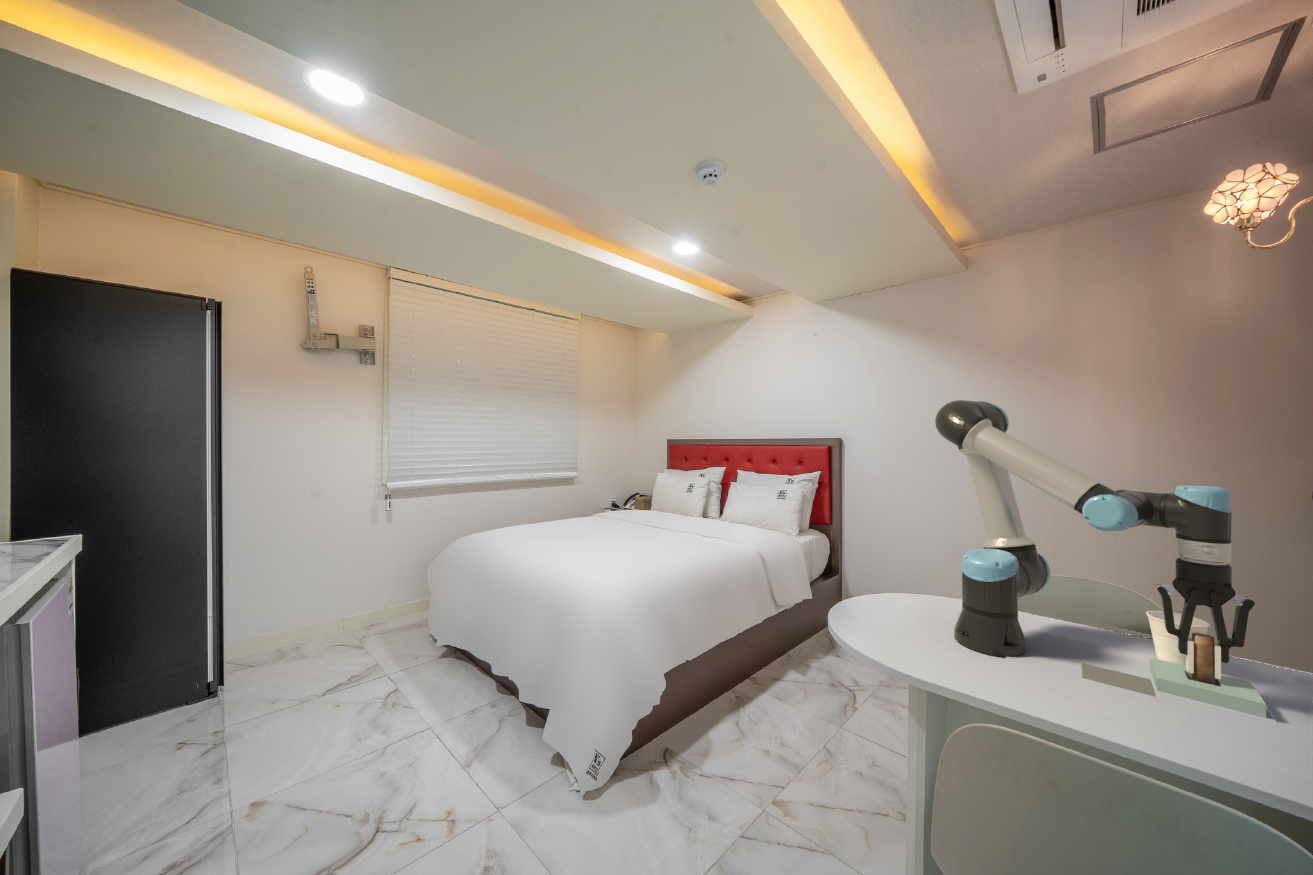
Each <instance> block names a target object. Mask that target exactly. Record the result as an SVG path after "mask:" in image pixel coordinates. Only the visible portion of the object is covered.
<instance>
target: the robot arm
mask: <svg viewBox="0 0 1313 875" xmlns="http://www.w3.org/2000/svg"><path fill="white" fill-rule="evenodd" d="M934 422H935V428H936V430H937V432H938V433H939V435H941V437H943V439H944V440H945V439H946V440H947V441H949V443H951V444H954V445H955V446H957V448H958V451H959V453H961V454H963V455H965V456H966V459H967V463H968V467H969V470H970V475H971V478H972V482H973V486H974V490H975V493H976V498H977V499H976V500H977V502H978V506H979V509H980V514H981V518H982V521H983V525H984V526H983V527H984V530H985V534H986V537H987V539H986V541H985V542H984V543H983V545H982V548H974V549H970V550H967V551H966V552H965V553H964V554H963V556H962V563H961V579H962V580H961V584H962V586H961V591H962V592H961V595H962V596H961V597H962V598H961V599H962V600H961V602H962V603H961V604H962V605H961V606H962V607H961V610H960V614H959V616H958V619H957V621H956V623H955V626H954V631H953V632H954V633H953V635H954V639H955V641H956V640H957V641H956V642H958V643H959V644H960V645H962V646H963V647H966V648H968V649H970V650H972V651H975V652H978V653H981V654H986V655H989V656H996V657H1002V658H1007V657H1009V658H1012V657H1013V658H1015V657H1022V656H1024V655H1026V654H1027V652H1028V643H1027V640H1026V637H1025V635H1024V632H1023V628H1022V627H1021V624H1020V622H1019V598H1022V597H1025V596H1028V595H1029V596H1030V595H1033V594H1036V593H1038V592H1039V591H1040V590H1042V589H1043V588H1044V587H1046V585H1047V584H1048V583H1049V581H1050V577H1051V568H1050V565H1049V563H1048V562H1047V560H1046V559H1045V557H1044V556H1042V555H1041V554H1040V553H1039V552H1038V549H1037V546H1036V543H1035V541H1034V540H1032V539H1030V538H1029V537H1028V536H1026V532H1025V529H1024V525H1023V522H1022V518H1021V513H1020V509H1019V506H1018V502H1017V499H1016V496H1015V492H1014V488H1013V484H1012V480H1011V477H1010V474H1009V472H1010V473H1011V474H1013V475H1015V476H1016V477H1018V478H1019V479H1020V480H1023V481H1025V482H1026V483H1028V484H1030V485H1032V486H1033V487H1034V488H1037V490H1040V491H1042V492H1043V493H1045V494H1047V495H1048V496H1050V497H1052V498H1054V499H1055V500H1057V501H1059V502H1060V503H1062V504H1063V505H1066V506H1067V507H1069V508H1071V509H1073V510H1074V511H1076V512H1077V513H1079V514H1081V515H1082V517H1083V518H1084V519H1085V521H1086V522H1087V523H1088V525H1090V526H1091V527H1093V528H1094V529H1097V530H1099V531H1103V532H1121V531H1126V530H1128V529H1130V528H1134V527H1138V526H1148V527H1157V528H1163V529H1164V528H1166V529H1175V555H1176V556H1177V558H1175V578H1174V580H1172V581H1171V583H1169V584H1157V585H1155V588H1156V589H1157V591H1158V593H1159V595H1160V596H1161V605H1162V611H1163V612H1164V620H1165V627H1166V630H1167V632H1168V633H1169V634H1173V635H1175V636H1177V637H1178V649H1179V651H1180V653H1181V654H1185V655H1186V669H1187V671H1188V672H1189V673H1194V642H1193V641H1192V639H1191V638H1188V637H1189V633H1190V629H1191V625H1192V620H1193V617H1195V616H1194V615H1195V611H1196V609H1197V606H1205V607H1207V608H1209V609H1210V612H1211V618H1212V622H1213V625H1214V630H1215V635H1216V640H1217V642H1214V677H1215V678H1216V679H1220V680H1221V673H1222V663H1225V664H1228V663H1229V662H1230V649H1231V648H1235V647H1237V648H1244V646H1245V640H1246V633H1247V626H1248V619H1249V613H1250V611H1251V610H1252V609H1253V607H1254V606H1255V605H1256V602H1255V601H1254V600H1253V599H1252V598H1250V597H1249V596H1244V595H1241V594H1240V593H1237V592H1236V590H1235V589H1234V588H1233V585H1232V582H1233V580H1232V578H1233V577H1232V574H1233V573H1232V572H1233V570H1232V567H1233V566H1231V564H1229V563H1231V562H1232V520H1233V519H1232V518H1233V517H1232V515H1233V509H1232V502H1231V493H1230V491H1229V490H1227V489H1226V488H1224V487H1219V486H1208V485H1191V484H1190V485H1189V484H1187V485H1185V484H1184V485H1177V486H1176V487H1175V491H1174V492H1173V493H1167V492H1166V493H1162V492H1152V491H1151V492H1150V491H1139V490H1129V489H1112V488H1110V487H1107V486H1105V485H1104V484H1102V483H1100V482H1099V481H1097V480H1094V479H1093V478H1091V477H1090V476H1087V475H1085V474H1083V473H1081V472H1079V471H1077V470H1076V469H1074V468H1072V467H1070V466H1068V465H1066V464H1064V463H1063V462H1061V461H1059V460H1057V459H1055V458H1053V457H1051V456H1049V455H1047V454H1046V453H1044V452H1043V451H1042V452H1041V451H1040V450H1038V449H1037V448H1034V447H1032V446H1030V445H1029V444H1027V443H1025V442H1023V441H1021V440H1019V439H1017V438H1016V437H1013V436H1012V435H1010V434H1008V433H1007V431H1008V429H1009V425H1010V424H1009V423H1010V422H1009V417H1008V415H1007V413H1006V412H1005V410H1003V409H1002V408H1001V406H998V405H996V404H994V403H991V402H987V401H983V400H977V401H976V400H975V401H974V400H960V399H959V400H952V401H950V402H948V403H946V404H944V405H943V406H942V407H941V408H940V409H939V410H938V411H937V413H936V415H935V421H934ZM1175 590H1176V591H1177V592H1178V593H1179V595H1180V596H1181V597H1182V598H1183V599H1184V601H1183V608H1182V613H1181V614H1182V617H1181V621H1180V625H1179V629H1176V628H1175V624H1174V617H1173V612H1174V610H1173V609H1174V608H1173V604H1172V599H1171V597H1172V596H1173V595H1174V591H1175ZM1232 599H1234V600H1233V602H1234V604H1235V612H1234V618H1233V624H1232V632H1231V637H1229V638H1228V632H1227V626H1226V623H1225V619H1224V614H1223V608H1222V606H1224V604H1226V603H1227V602H1229V601H1230V600H1232Z"/></svg>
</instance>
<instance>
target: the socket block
mask: <svg viewBox="0 0 1313 875" xmlns="http://www.w3.org/2000/svg"><path fill="white" fill-rule="evenodd" d="M1149 671H1150V673H1151V677H1152V680H1153V682H1154V686H1155V690H1156V691H1158V692H1161V693H1163V694H1169V695H1172V696H1177V697H1181V698H1185V699H1188V700H1193V701H1196V702H1200V703H1205V704H1209V705H1212V706H1215V707H1220V708H1224V709H1229V710H1232V711H1236V712H1240V713H1244V714H1249V715H1253V716H1257V717H1260V718H1264V719H1267V703H1266V702H1265V701H1264V699H1263V698H1262V696H1261V695H1260V694H1259V692H1258V691H1257V689H1256V688H1255V687H1254V685H1253V684H1252V683H1251V681H1250V680H1249V679H1248V678H1244V677H1240V676H1235V675H1229V674H1227V673H1222V672H1221V680H1220V679H1216V678H1215V677H1214V685H1211V684H1207V683H1203V682H1198V681H1194V680H1192V673H1189V672H1188V671H1187V669H1186V665H1181V664H1176V663H1172V662H1167V661H1163V660H1158V659H1157V658H1154V657H1149Z"/></svg>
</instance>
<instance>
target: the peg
mask: <svg viewBox="0 0 1313 875" xmlns="http://www.w3.org/2000/svg"><path fill="white" fill-rule="evenodd" d="M1192 641H1193V642H1194V673H1192V680H1194V681H1198V682H1203V683H1207V684H1211V685H1214V643H1215V637H1213V635H1209V634H1207V633H1206V634H1202V633H1192Z"/></svg>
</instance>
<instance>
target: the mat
mask: <svg viewBox="0 0 1313 875" xmlns="http://www.w3.org/2000/svg"><path fill="white" fill-rule="evenodd" d="M1081 678H1082V679H1085V680H1089V681H1094V682H1096V683H1100V684H1101V683H1102V684H1104V685H1109V686H1113V687H1117V688H1120V689H1125V690H1128V691H1131V692H1134V693H1140V694H1142V695H1143V694H1144V695H1146V696H1147V695H1148V696H1151V697H1154V698H1156V693H1155V691H1154V687H1153V683H1152V680H1151V679H1150V678H1146V677H1142V676H1137V675H1133V674H1130V673H1129V674H1128V673H1125V672H1122V671H1117V670H1113V669H1109V668H1105V667H1100V666H1096V665H1092V664H1087V663H1084V662H1081Z"/></svg>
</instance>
